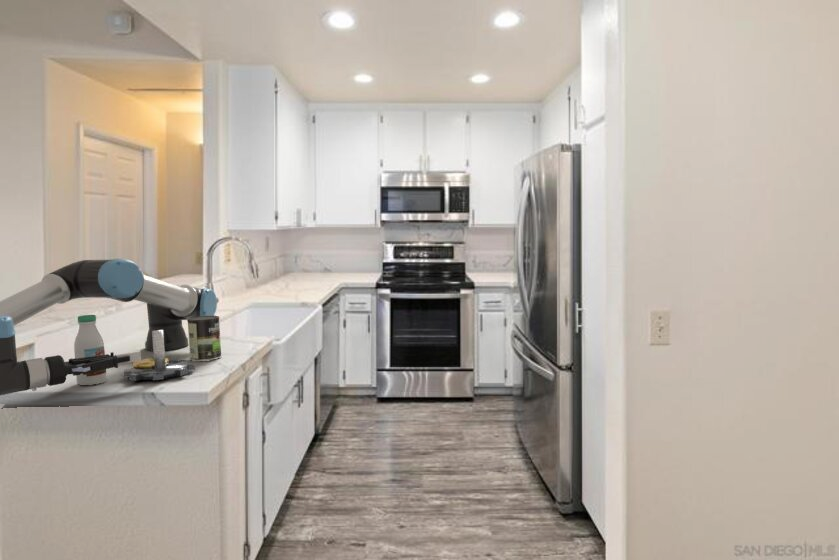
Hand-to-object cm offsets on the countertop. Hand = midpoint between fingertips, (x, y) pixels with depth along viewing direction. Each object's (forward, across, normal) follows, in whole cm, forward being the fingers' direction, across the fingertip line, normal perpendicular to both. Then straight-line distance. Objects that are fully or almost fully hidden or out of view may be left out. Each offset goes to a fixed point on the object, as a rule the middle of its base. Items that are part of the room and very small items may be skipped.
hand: (139, 355), depth 170 cm
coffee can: (+28, -18, -9) cm, 34 cm away
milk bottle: (-9, -14, -9) cm, 19 cm away
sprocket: (+8, -6, -8) cm, 13 cm away
